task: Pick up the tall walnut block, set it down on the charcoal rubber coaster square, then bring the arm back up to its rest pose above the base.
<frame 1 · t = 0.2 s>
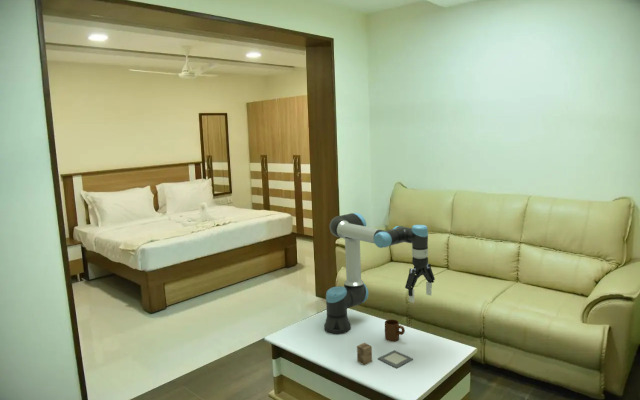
hand: (420, 298, 219), 28 cm above the table, fingers open, 13 cm apart
mug: (395, 340, 236), on the table
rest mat: (395, 359, 215), on the table
walnut block: (364, 361, 215), on the table
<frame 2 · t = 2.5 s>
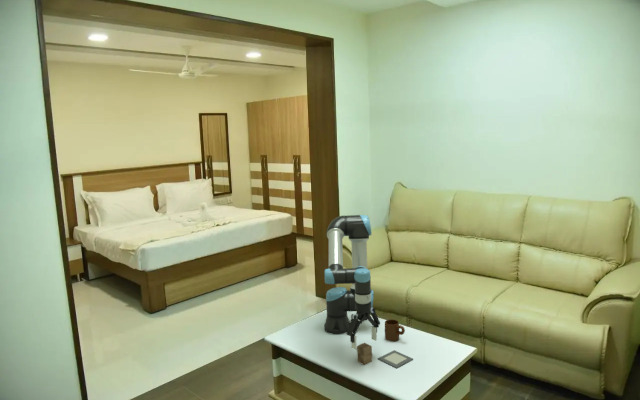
hand: (364, 344, 213), 9 cm above the table, fingers open, 13 cm apart
nothing on the table moved.
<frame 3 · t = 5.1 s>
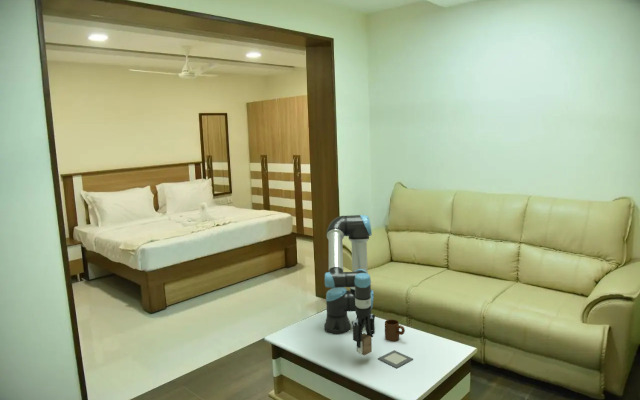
hand: (364, 350, 215), 5 cm above the table, fingers closed on walnut block, 5 cm apart
walnut block: (364, 351, 215), point 5 cm above the table, touching gripper
everything else where it was.
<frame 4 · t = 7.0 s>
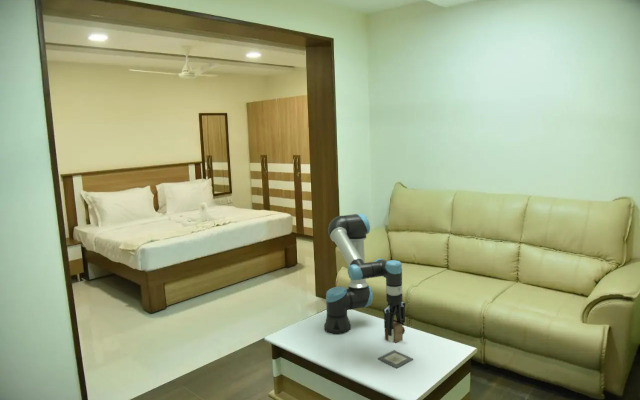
hand: (395, 339, 213), 10 cm above the table, fingers closed on walnut block, 5 cm apart
walnut block: (395, 340, 213), point 10 cm above the table, touching gripper
everything else where it was.
when the fingers open (1 cm above the table, at t = 9.2 s): walnut block stays where it is, resting on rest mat.
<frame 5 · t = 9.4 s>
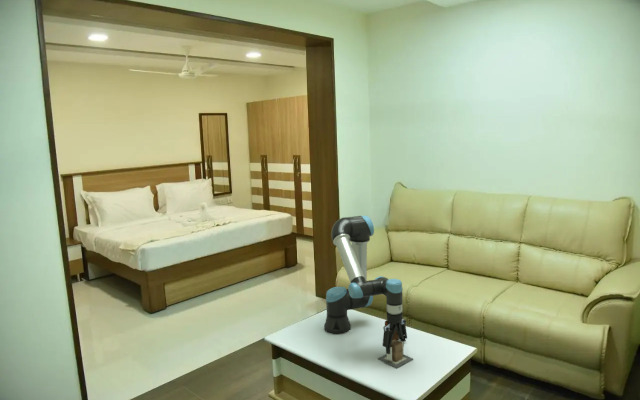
hand: (395, 356, 215), 2 cm above the table, fingers open, 8 cm apart
walnut block: (395, 358, 215), point 1 cm above the table, touching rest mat
everything else where it was.
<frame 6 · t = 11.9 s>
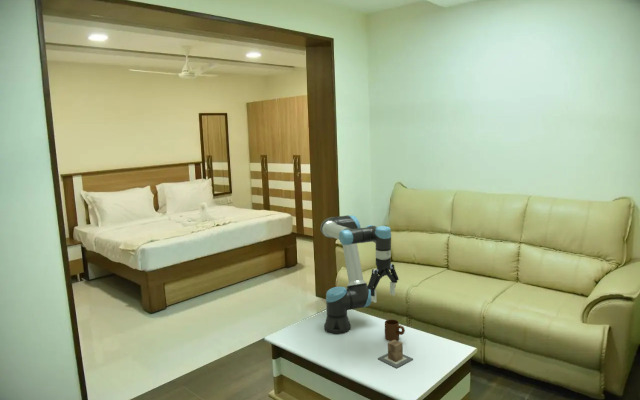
hand: (383, 298, 222), 27 cm above the table, fingers open, 13 cm apart
nothing on the table moved.
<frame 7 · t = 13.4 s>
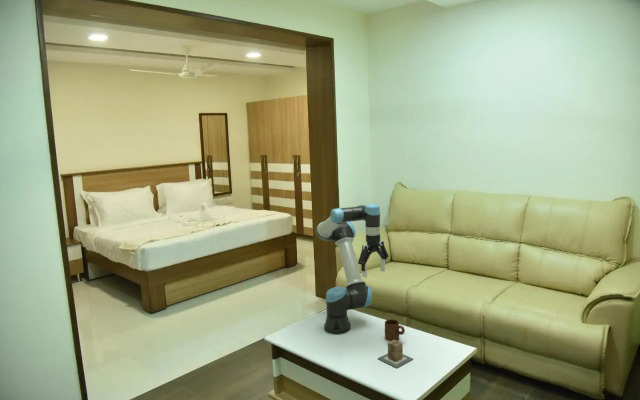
hand: (373, 274, 231), 37 cm above the table, fingers open, 13 cm apart
nothing on the table moved.
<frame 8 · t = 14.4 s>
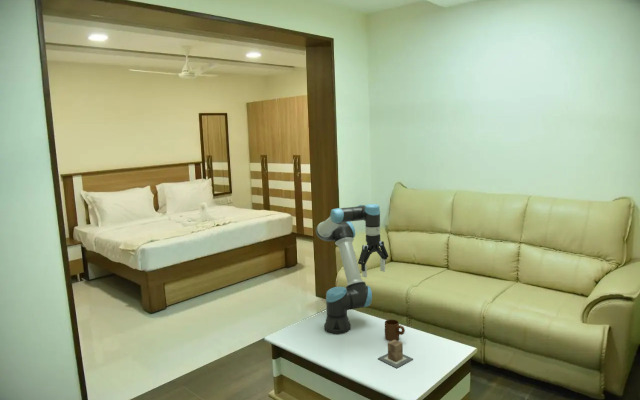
hand: (373, 274, 231), 37 cm above the table, fingers open, 13 cm apart
nothing on the table moved.
at the end: walnut block inside the target area on the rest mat (0.0 cm from its centre), point 0.6 cm above the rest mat's base; walnut block tilted 0°; the gripper is holding nothing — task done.
